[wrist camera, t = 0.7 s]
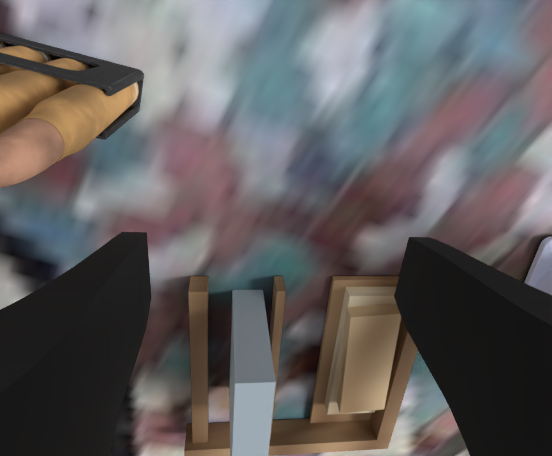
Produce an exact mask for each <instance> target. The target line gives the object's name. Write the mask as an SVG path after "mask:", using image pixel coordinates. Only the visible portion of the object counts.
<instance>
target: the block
mask: <svg viewBox="0 0 552 456" xmlns="http://www.w3.org/2000/svg"><path fill="white" fill-rule="evenodd" d="M275 384H276V381H275V374H274V366H273V359H272V352H271V345H270V338H269V330H268V323H267V316H266V309H265V302H264V294H263V290H232V319H231V351H230V383H229V396H230V456H268V453H269V443H270V433H271V423H272V413H273V404H274V394H275Z"/></svg>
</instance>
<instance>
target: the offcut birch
mask: <svg viewBox="0 0 552 456" xmlns="http://www.w3.org/2000/svg"><path fill="white" fill-rule="evenodd" d="M395 290H396V287H346V289H345V294H344V300H343V305H342V311H341V316H340V322H339V327H338V333H337V338H336V343H335V349H334V354H333V360H332V365H331V371H330V376H329V382H328V387H327V393H326V398H325V408H326V411H327V415H329V414H351V413H372V412H375V410H372V411H361V412H351V413H340V412H339V409H338V405H337V394H338V384H339V375H340V365H341V355H342V346H343V336H344V327H345V317H346V308H347V307H359V306H374V305H388V304H396V301H395V298H394V294H395ZM396 305H397V304H396Z"/></svg>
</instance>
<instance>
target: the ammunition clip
mask: <svg viewBox="0 0 552 456" xmlns="http://www.w3.org/2000/svg"><path fill="white" fill-rule="evenodd" d="M143 78H144V73H143V72H142V71H141V70H138V69H135V68H131V67H127V66H123V65H119V64H116V63H112V62H108V61H104V60H101V59H97V58H93V57H89V56H86V55H82V54H78V53H74V52H71V51H67V50H63V49H59V48H56V47H52V46H48V45H44V44H40V43H37V42H33V41H29V40H25V39H22V38H18V37H14V36H10V35H7V34H3V33H0V188H2V187H7V186H11V185H15V184H18V183H21V182H23V181H26V180H28V179H29V178H31V177H33V176H35V175H37V174H39V173H41V172H43V171H44V170H46V169H47V168H49V167H50V166H51V165H52V164H54V163H56V162H58V161H60V160H61V159H62V158H64V157H65V156H68V155H72V154H74V153H76V152H78V151H80V150H82V149H83V148H85V147H86V146H87V145H88V144H89V143H90V142H91V141H92V140H93V139H95V138H100V139H107V138H108V137H109V136H110V135H111V134H113V133H114V132H115V131H116V130H117V129H119V128H120V127H121V126H122V125H123V124H124V123H126V122H127V121H128V120H129V119H130V118H132V117H133V116H134V115H135V114H136V113H138V112H139V109H140V101H141V94H142V86H143Z"/></svg>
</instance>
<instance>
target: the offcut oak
mask: <svg viewBox="0 0 552 456" xmlns="http://www.w3.org/2000/svg"><path fill="white" fill-rule="evenodd" d="M400 321H401V315H400V312H399V309H398V306H397V305H396V304H388V305H374V306H359V307H347V308H346V317H345V327H344V336H343V346H342V355H341V365H340V375H339V384H338V394H337V405H338V409H339V412H340V413H351V412H361V411H372V410H382V409H384V408H385V402H386V397H387V391H388V386H389V381H390V375H391V370H392V364H393V359H394V354H395V348H396V343H397V337H398V332H399V326H400Z"/></svg>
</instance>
